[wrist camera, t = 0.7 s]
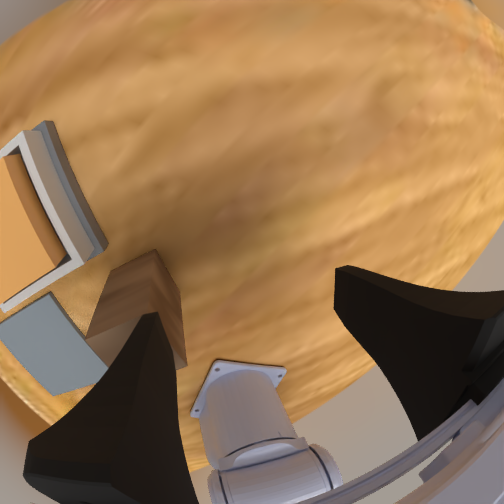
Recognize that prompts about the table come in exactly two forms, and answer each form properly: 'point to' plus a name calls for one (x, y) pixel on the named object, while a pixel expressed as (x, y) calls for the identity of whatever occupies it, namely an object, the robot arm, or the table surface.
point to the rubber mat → (51, 346)
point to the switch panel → (56, 203)
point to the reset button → (23, 231)
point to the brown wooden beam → (136, 307)
